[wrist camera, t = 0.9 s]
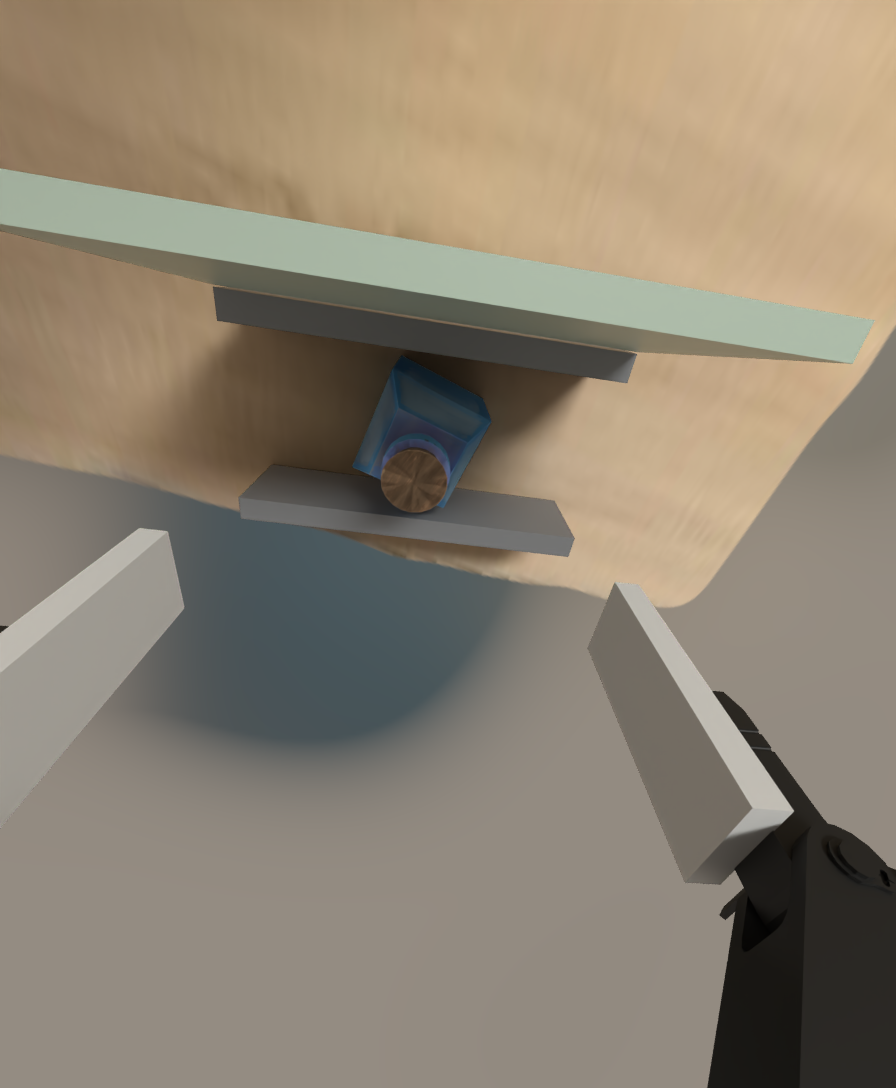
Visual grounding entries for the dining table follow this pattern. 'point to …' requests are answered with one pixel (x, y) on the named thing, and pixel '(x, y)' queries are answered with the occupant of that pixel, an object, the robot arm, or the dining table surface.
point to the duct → (361, 497)
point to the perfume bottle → (421, 437)
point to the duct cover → (415, 276)
